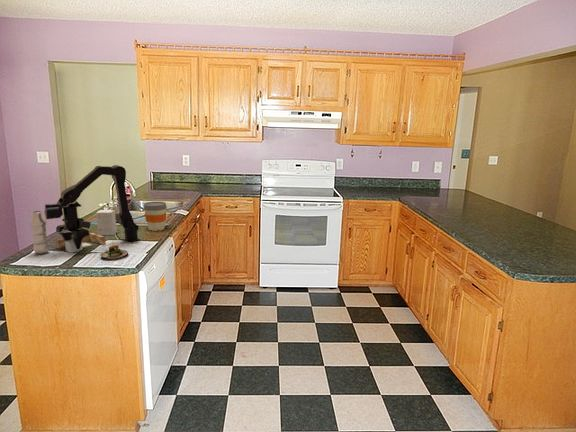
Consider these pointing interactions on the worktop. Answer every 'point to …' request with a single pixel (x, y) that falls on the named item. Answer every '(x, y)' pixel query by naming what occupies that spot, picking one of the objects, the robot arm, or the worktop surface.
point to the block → (72, 246)
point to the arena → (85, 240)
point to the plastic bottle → (39, 233)
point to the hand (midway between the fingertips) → (74, 247)
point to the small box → (106, 222)
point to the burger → (113, 252)
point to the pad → (85, 244)
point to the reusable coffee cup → (155, 215)
